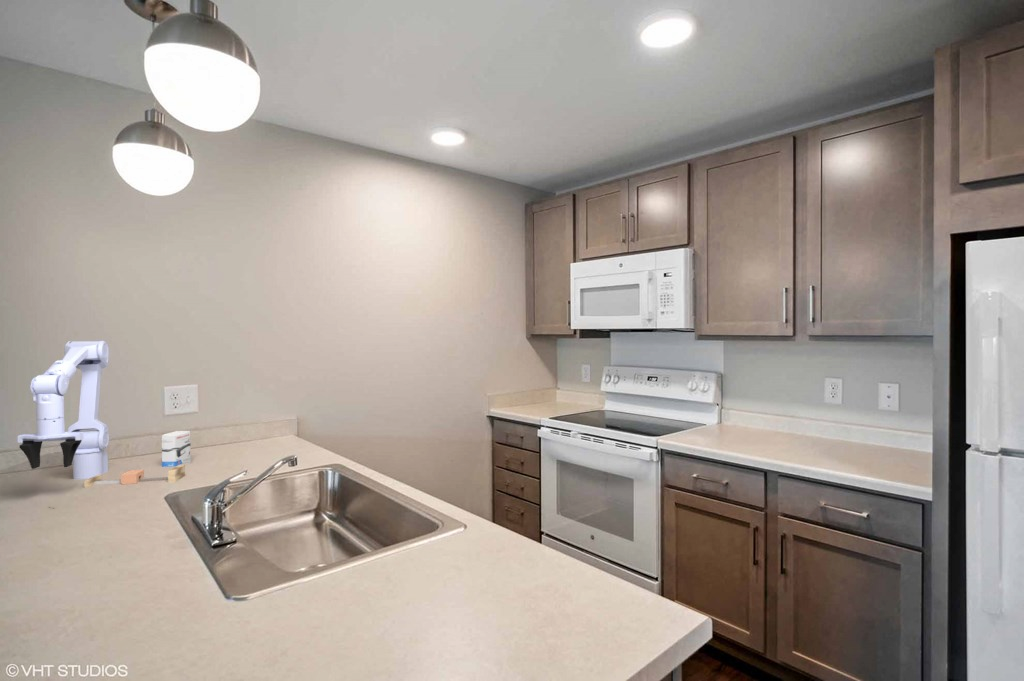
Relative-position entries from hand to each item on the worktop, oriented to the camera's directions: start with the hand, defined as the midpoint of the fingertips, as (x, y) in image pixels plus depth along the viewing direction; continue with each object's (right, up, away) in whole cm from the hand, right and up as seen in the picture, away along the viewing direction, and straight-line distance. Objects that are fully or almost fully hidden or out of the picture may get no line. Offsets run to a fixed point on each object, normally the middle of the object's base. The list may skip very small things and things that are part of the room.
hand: (51, 467), depth 141 cm
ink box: (+10, -9, +37) cm, 39 cm away
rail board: (+12, -9, +15) cm, 22 cm away
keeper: (+11, -8, +15) cm, 21 cm away
